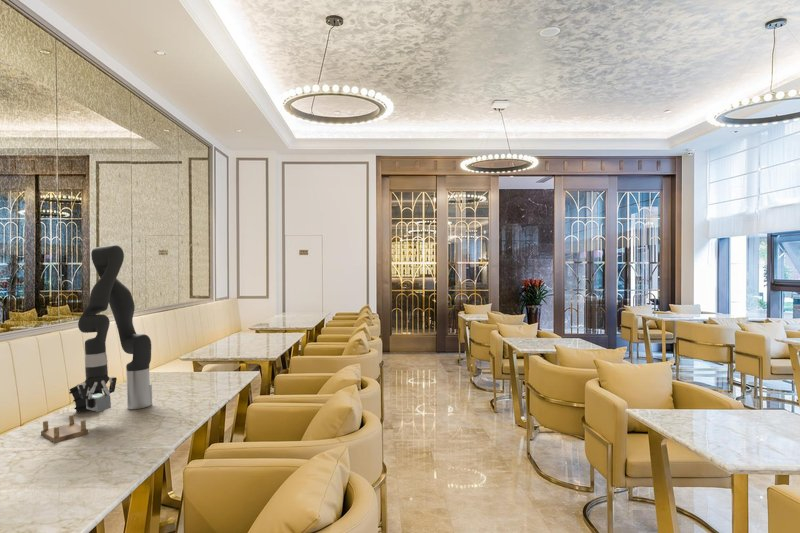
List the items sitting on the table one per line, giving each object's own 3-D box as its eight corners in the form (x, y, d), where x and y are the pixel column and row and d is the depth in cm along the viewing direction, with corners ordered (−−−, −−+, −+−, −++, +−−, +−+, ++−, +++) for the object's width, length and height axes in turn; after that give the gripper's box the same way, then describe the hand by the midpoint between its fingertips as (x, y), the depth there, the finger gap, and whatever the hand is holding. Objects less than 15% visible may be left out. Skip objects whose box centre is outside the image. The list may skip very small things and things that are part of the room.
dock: (74, 426, 189) (74, 414, 189) (88, 433, 179) (87, 420, 180) (41, 434, 180) (40, 421, 180) (54, 442, 171) (53, 428, 171)
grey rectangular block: (99, 405, 193) (99, 392, 193) (110, 408, 189) (110, 395, 188) (86, 408, 189) (85, 396, 189) (97, 411, 184) (96, 398, 184)
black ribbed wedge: (108, 406, 210) (92, 377, 209) (80, 421, 208) (63, 392, 207) (112, 404, 214) (96, 375, 213) (85, 418, 212) (68, 390, 211)
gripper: (111, 359, 197) (113, 399, 197) (72, 367, 185) (74, 409, 185) (119, 361, 192) (121, 402, 192) (79, 369, 181) (81, 412, 181)
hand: (98, 405), depth 189 cm, fingers closed on grey rectangular block, 5 cm apart
